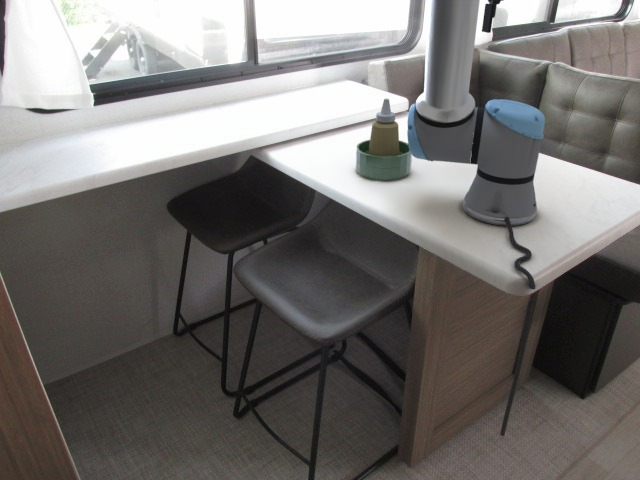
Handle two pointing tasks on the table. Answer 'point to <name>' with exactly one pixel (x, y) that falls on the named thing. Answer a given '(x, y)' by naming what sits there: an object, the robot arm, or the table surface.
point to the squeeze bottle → (384, 133)
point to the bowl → (383, 163)
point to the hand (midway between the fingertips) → (463, 34)
